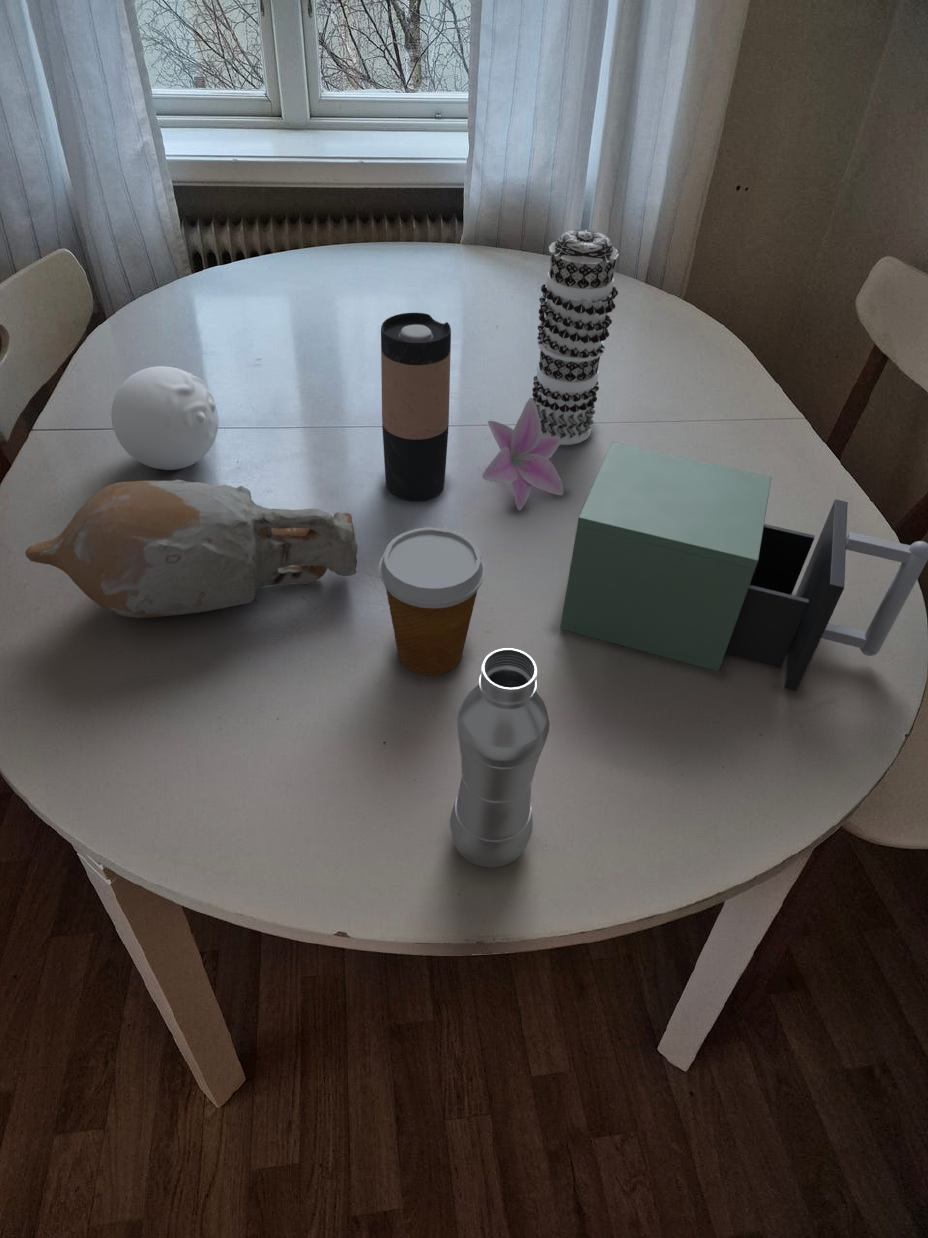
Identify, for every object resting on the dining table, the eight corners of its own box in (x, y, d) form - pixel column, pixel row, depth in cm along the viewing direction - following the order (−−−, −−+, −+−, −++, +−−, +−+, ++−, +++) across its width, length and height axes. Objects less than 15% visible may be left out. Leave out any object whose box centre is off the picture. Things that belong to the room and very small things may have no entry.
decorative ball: (198, 496, 101) (180, 405, 93) (105, 480, 103) (78, 388, 94) (241, 444, 109) (227, 356, 101) (154, 429, 111) (133, 342, 103)
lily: (462, 518, 102) (500, 474, 94) (450, 436, 106) (485, 387, 99) (549, 530, 107) (591, 489, 99) (534, 451, 112) (573, 406, 104)
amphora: (11, 472, 81) (323, 404, 82) (89, 574, 94) (357, 514, 95) (-5, 586, 73) (339, 509, 74) (82, 680, 86) (374, 614, 87)
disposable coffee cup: (388, 694, 80) (386, 597, 72) (375, 624, 87) (372, 528, 78) (488, 682, 81) (497, 586, 73) (468, 614, 88) (474, 519, 80)
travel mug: (384, 503, 102) (380, 343, 88) (383, 467, 107) (379, 311, 93) (448, 502, 102) (454, 343, 89) (444, 466, 108) (449, 311, 94)
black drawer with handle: (872, 620, 90) (931, 503, 80) (871, 711, 81) (938, 593, 71) (664, 568, 95) (695, 452, 85) (641, 649, 86) (672, 530, 75)
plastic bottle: (439, 868, 67) (447, 696, 53) (460, 797, 72) (472, 624, 58) (520, 887, 66) (550, 718, 52) (536, 815, 71) (566, 642, 57)
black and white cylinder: (592, 450, 112) (625, 255, 95) (521, 441, 113) (542, 246, 96) (596, 416, 119) (628, 227, 102) (530, 407, 120) (550, 219, 103)
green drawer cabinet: (734, 584, 94) (771, 476, 84) (718, 671, 84) (758, 560, 74) (591, 549, 97) (611, 441, 87) (559, 629, 87) (578, 517, 78)
